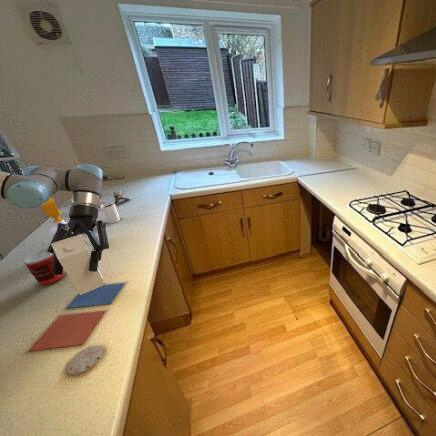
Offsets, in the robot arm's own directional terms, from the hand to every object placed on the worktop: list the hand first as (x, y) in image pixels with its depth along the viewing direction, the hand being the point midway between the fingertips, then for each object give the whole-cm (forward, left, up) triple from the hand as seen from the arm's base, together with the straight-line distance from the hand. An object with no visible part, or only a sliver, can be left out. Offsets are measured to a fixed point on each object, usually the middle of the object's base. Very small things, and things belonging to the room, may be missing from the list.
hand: (75, 272), depth 76 cm
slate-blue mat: (0, +3, -13) cm, 13 cm away
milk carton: (0, +3, -8) cm, 9 cm away
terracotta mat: (0, -11, -13) cm, 17 cm away
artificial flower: (-39, +89, -13) cm, 98 cm away
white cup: (-24, +63, -13) cm, 69 cm away
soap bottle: (-30, +38, -13) cm, 50 cm away
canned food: (-23, +15, -13) cm, 30 cm away
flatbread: (+11, -22, -13) cm, 28 cm away
